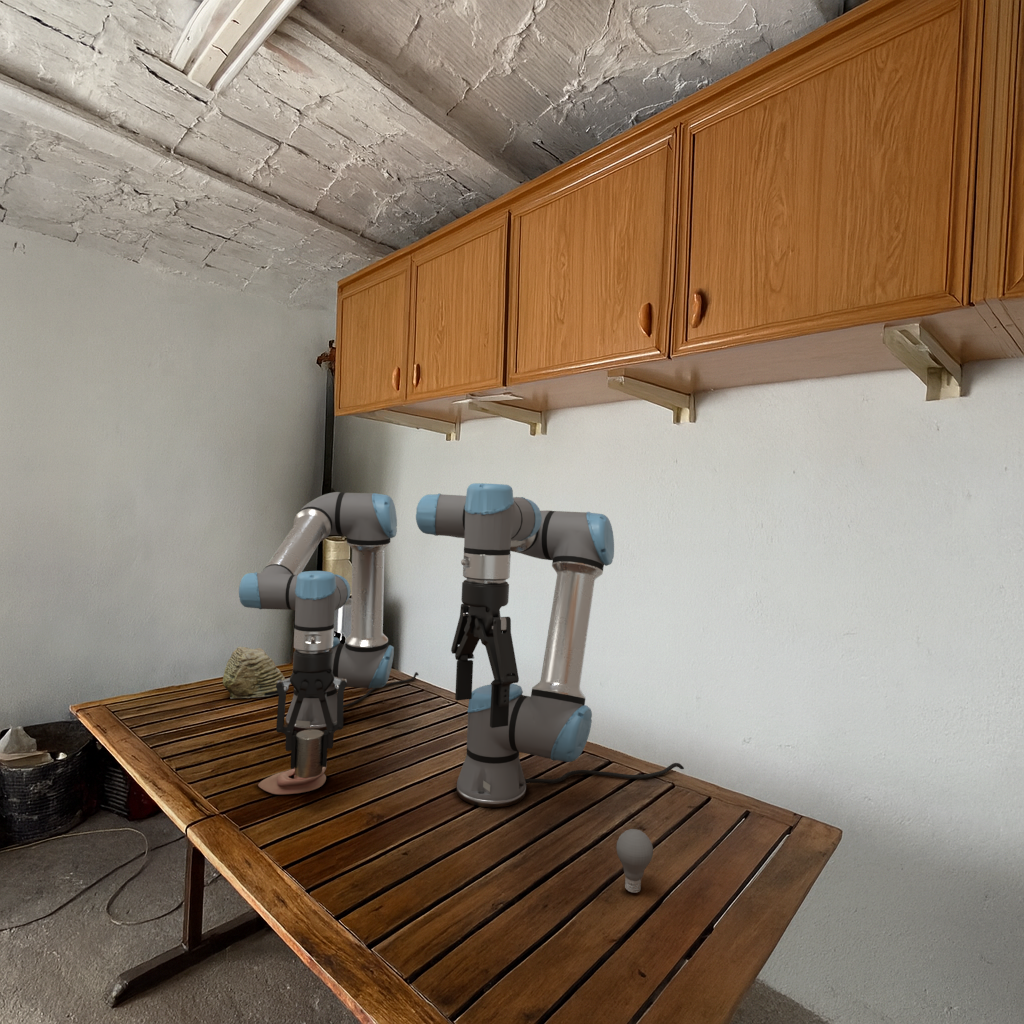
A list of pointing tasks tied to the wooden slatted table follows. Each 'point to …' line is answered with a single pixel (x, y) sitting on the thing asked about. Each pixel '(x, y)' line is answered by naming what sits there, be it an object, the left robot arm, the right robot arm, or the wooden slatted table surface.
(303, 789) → the anatomical model
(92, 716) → the wooden slatted table surface
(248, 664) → the fossil
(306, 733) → the tin
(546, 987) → the wooden slatted table surface
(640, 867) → the light bulb
